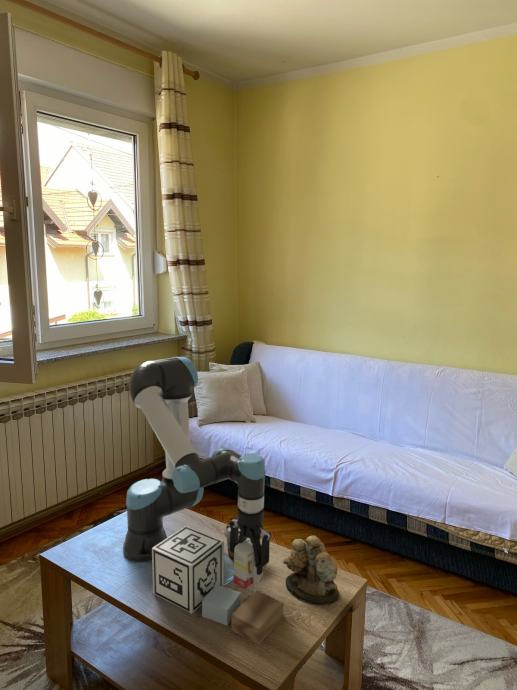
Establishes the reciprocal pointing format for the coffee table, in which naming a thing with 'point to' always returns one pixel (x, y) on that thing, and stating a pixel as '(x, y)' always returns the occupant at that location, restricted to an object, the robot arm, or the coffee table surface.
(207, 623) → the coffee table surface
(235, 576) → the ink box
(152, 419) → the robot arm
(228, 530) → the food container
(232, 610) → the slate block
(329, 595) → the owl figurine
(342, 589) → the coffee table surface
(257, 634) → the walnut block
